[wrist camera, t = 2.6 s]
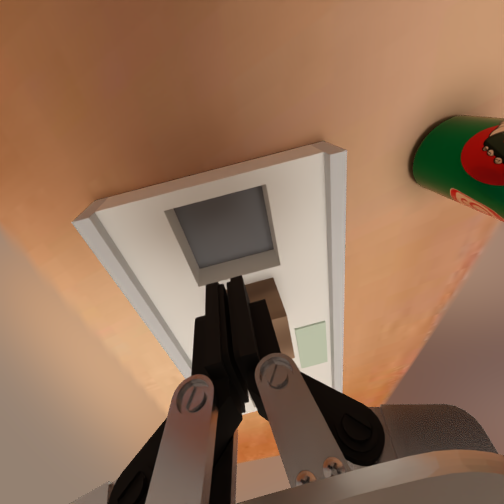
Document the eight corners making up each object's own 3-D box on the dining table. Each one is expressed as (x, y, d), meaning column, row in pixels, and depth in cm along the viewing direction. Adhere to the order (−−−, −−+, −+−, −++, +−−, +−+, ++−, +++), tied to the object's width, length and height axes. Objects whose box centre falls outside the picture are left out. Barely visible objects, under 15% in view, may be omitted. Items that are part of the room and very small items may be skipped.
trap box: (94, 200, 16) (71, 222, 13) (323, 140, 16) (347, 150, 14) (219, 400, 33) (221, 427, 30) (331, 369, 33) (342, 394, 31)
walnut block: (212, 293, 19) (213, 335, 16) (273, 277, 19) (287, 316, 16) (228, 332, 22) (232, 374, 18) (281, 317, 22) (295, 357, 18)
